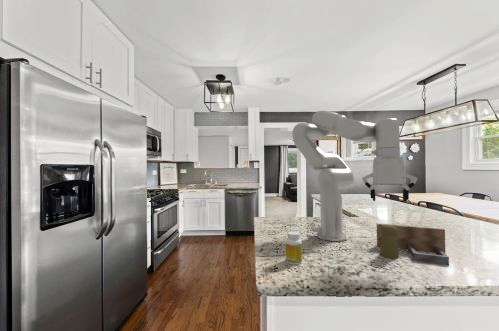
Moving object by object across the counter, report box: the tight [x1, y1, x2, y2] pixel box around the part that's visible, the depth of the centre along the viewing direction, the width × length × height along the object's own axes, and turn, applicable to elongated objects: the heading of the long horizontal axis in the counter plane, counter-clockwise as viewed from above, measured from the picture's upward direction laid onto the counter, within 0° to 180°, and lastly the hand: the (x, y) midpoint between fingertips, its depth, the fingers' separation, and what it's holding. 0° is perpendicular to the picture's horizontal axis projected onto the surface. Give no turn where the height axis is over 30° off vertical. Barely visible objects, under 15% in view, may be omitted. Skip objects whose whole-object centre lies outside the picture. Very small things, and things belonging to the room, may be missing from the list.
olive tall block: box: [378, 224, 400, 260], centre depth 85 cm, size 6×6×11 cm
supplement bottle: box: [285, 231, 303, 266], centre depth 80 cm, size 5×5×10 cm
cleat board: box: [376, 222, 450, 266], centre depth 86 cm, size 22×13×9 cm, turn 66°
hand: (389, 200), depth 85 cm, fingers open, 9 cm apart
